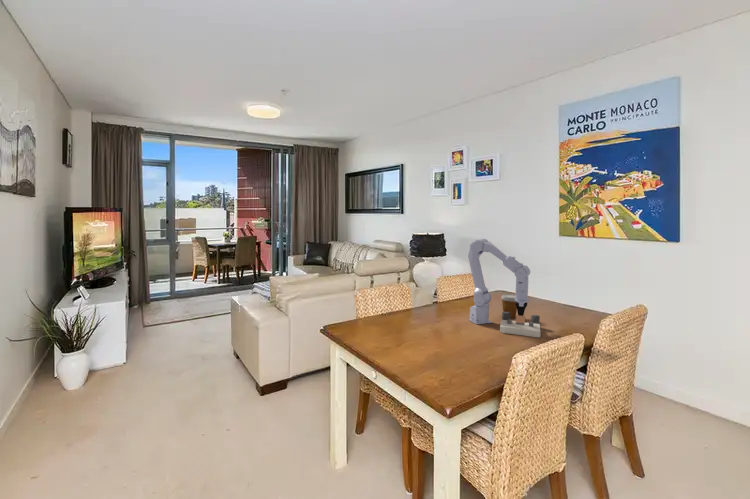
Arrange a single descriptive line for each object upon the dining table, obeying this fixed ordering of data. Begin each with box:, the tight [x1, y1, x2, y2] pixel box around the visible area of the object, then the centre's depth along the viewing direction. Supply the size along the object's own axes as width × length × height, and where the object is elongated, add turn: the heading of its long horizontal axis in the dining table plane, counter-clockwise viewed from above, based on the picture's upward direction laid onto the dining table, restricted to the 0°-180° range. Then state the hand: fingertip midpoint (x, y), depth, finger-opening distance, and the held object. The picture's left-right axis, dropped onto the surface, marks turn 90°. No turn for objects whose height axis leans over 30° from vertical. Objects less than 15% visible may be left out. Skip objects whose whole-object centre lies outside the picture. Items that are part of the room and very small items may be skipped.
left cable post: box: [501, 311, 511, 320], centre depth 193 cm, size 4×4×6 cm
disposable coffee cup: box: [500, 293, 518, 320], centre depth 205 cm, size 10×10×12 cm
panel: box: [499, 319, 541, 338], centre depth 182 cm, size 12×18×5 cm, turn 68°
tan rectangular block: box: [515, 314, 526, 325], centre depth 183 cm, size 1×4×4 cm, turn 69°
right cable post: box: [530, 314, 540, 324], centre depth 188 cm, size 4×4×6 cm
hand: (520, 316), depth 184 cm, fingers closed, pressing on tan rectangular block
